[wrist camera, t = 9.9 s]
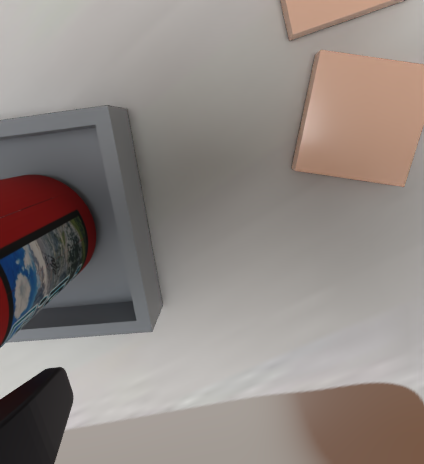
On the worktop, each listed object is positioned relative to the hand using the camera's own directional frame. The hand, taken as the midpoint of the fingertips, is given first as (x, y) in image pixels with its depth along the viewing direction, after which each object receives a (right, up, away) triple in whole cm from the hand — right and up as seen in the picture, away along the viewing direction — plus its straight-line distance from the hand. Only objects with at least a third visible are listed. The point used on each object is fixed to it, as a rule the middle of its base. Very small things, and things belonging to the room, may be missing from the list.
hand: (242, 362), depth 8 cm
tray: (-11, +4, +13) cm, 18 cm away
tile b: (+7, +9, +10) cm, 16 cm away
